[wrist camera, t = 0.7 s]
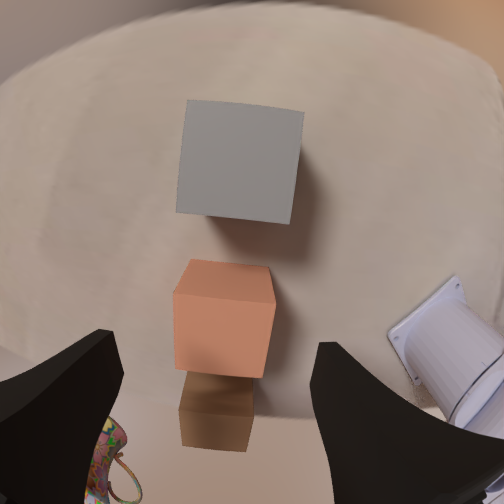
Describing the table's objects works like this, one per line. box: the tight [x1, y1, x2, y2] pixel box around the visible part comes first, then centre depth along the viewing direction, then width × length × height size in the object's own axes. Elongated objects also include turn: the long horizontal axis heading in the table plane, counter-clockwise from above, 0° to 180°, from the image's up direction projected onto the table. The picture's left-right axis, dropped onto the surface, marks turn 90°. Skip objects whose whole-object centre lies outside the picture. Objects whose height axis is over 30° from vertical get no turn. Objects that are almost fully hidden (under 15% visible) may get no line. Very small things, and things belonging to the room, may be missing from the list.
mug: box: [84, 416, 142, 504], centre depth 19 cm, size 12×9×11 cm
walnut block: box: [179, 371, 254, 452], centre depth 19 cm, size 5×5×5 cm
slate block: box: [176, 100, 304, 224], centre depth 14 cm, size 5×5×5 cm
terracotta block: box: [173, 259, 276, 378], centre depth 16 cm, size 5×5×5 cm
